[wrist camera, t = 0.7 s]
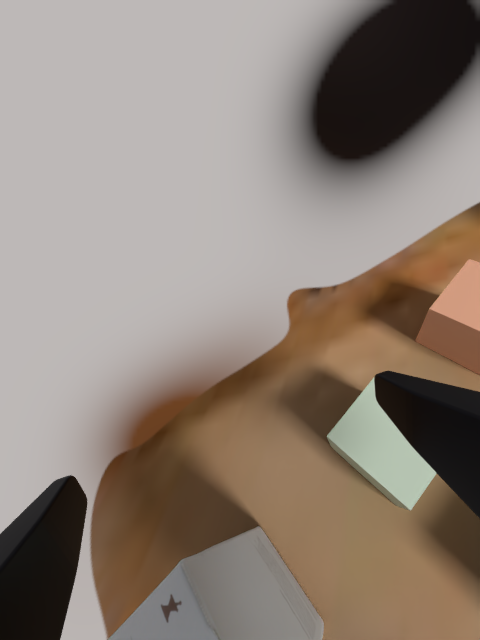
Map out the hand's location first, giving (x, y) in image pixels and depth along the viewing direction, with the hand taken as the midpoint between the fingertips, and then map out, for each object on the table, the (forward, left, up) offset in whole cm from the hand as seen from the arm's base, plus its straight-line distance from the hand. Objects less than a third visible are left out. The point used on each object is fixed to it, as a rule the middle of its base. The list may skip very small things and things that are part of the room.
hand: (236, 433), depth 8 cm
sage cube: (-3, -5, -15) cm, 16 cm away
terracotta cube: (-3, -16, -15) cm, 22 cm away
